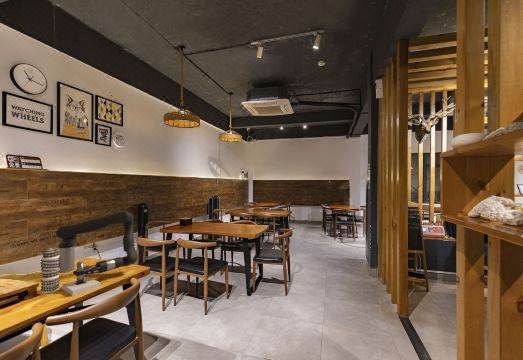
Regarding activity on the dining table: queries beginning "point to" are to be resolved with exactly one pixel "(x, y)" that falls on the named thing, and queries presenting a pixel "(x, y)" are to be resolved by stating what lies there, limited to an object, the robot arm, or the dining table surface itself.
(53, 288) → the tiered tower model
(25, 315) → the dining table surface
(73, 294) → the hole plate
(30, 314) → the dining table surface
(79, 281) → the metal pin
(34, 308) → the dining table surface
